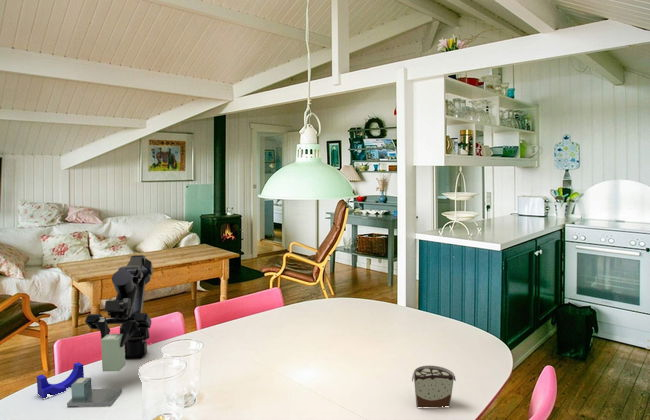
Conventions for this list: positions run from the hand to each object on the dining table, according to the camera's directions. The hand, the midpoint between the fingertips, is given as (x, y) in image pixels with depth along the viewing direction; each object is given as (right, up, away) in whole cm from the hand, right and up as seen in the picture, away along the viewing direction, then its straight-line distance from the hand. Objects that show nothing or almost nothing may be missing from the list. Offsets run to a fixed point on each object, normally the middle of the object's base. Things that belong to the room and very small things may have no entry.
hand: (111, 347), depth 134 cm
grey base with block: (-2, -14, -6) cm, 15 cm away
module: (0, -7, +1) cm, 7 cm away
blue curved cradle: (-15, -13, 0) cm, 20 cm away
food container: (+96, -14, -7) cm, 97 cm away
